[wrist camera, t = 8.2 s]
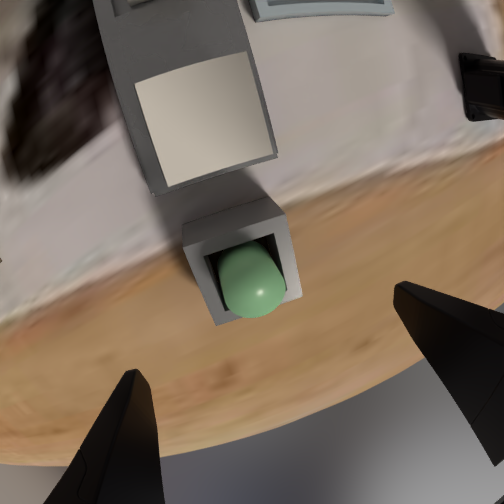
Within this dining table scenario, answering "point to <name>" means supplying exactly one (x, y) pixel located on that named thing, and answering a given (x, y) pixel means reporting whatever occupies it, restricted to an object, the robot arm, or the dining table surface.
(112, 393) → the robot arm
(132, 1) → the block
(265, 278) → the button
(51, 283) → the dining table surface
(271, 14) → the blue-grey square tray
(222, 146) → the seated billet
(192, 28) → the tray
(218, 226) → the grey square tube
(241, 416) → the dining table surface
